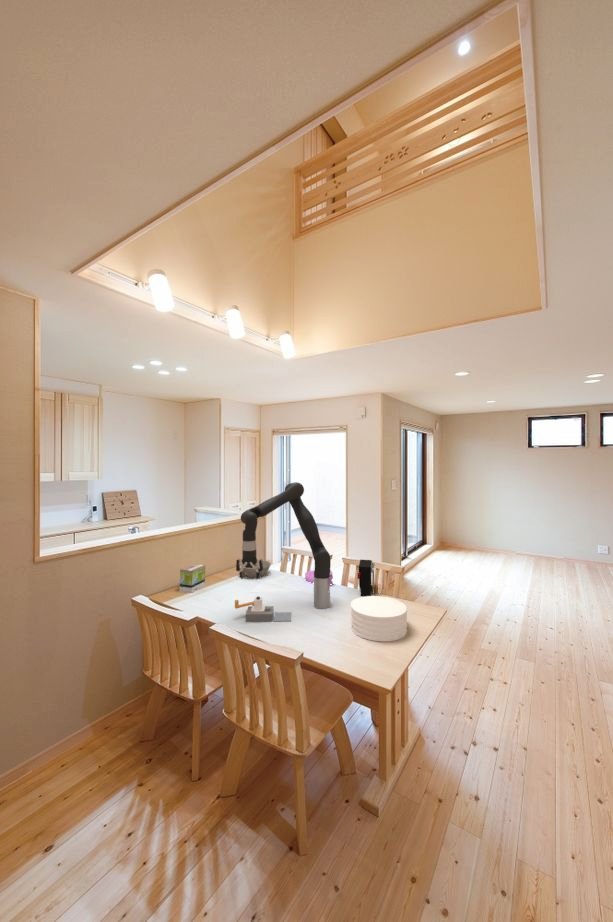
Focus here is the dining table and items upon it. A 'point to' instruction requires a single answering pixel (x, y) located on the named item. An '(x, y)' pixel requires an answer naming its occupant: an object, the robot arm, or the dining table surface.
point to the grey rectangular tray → (260, 615)
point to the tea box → (192, 578)
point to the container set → (310, 576)
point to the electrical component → (366, 577)
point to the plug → (258, 606)
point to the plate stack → (378, 618)
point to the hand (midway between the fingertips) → (249, 578)
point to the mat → (282, 617)
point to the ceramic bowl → (252, 572)
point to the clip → (242, 604)
